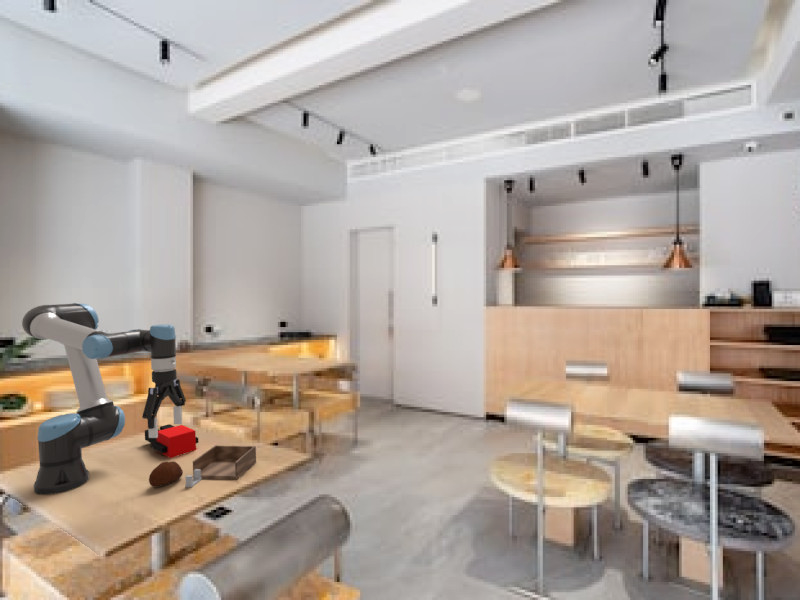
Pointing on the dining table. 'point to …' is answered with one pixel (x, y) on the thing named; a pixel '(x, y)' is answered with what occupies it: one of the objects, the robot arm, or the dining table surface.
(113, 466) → the dining table surface
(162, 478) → the potato
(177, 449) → the red-and-black block model
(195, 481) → the clip
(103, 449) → the dining table surface
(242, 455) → the holder
